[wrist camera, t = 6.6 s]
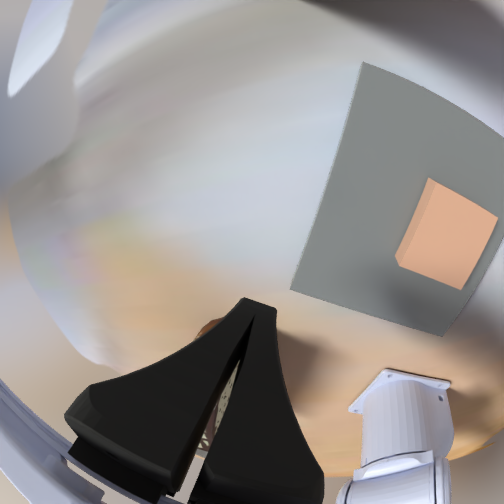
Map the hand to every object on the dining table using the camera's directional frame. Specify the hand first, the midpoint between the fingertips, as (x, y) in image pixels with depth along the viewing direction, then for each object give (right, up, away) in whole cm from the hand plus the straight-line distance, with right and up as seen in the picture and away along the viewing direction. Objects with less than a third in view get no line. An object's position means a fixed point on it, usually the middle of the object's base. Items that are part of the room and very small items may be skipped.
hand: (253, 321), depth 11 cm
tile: (+10, +4, +4) cm, 11 cm away
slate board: (+11, +5, +6) cm, 14 cm away
